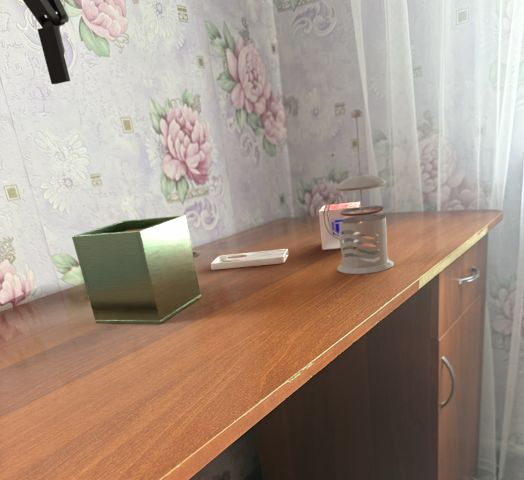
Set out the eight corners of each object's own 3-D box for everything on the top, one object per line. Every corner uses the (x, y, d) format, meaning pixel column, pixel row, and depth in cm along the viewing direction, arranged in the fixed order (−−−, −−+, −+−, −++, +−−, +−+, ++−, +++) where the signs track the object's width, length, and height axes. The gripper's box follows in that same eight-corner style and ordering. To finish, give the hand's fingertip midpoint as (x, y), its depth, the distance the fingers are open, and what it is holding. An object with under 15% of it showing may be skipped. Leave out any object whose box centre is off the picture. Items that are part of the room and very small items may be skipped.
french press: (384, 274, 81) (376, 104, 71) (318, 273, 87) (303, 116, 77) (400, 258, 89) (396, 103, 79) (339, 259, 94) (328, 115, 85)
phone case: (210, 270, 101) (284, 263, 97) (209, 263, 100) (283, 256, 97) (219, 261, 107) (288, 254, 104) (218, 255, 107) (287, 248, 104)
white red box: (362, 238, 109) (360, 201, 106) (360, 246, 102) (358, 206, 99) (325, 241, 111) (322, 205, 108) (321, 249, 104) (318, 211, 101)
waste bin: (95, 323, 78) (71, 236, 72) (141, 298, 88) (122, 220, 83) (160, 324, 73) (139, 231, 68) (201, 297, 83) (185, 215, 78)
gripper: (-133, -212, 43) (-44, 67, 51) (67, -107, 64) (108, 79, 72) (-184, -180, 46) (-91, 80, 54) (24, -89, 67) (68, 88, 75)
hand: (23, 80), depth 63 cm, fingers open, 13 cm apart
